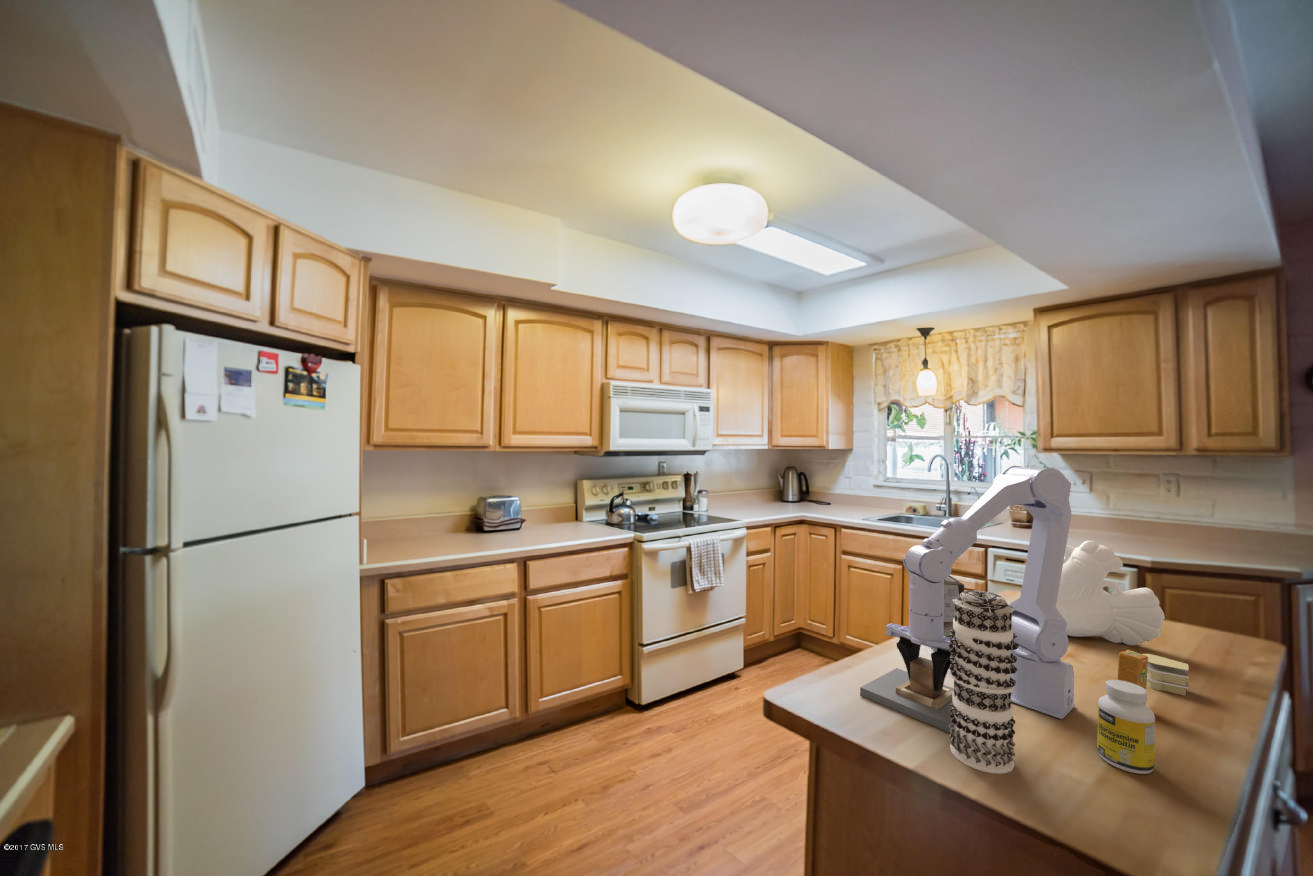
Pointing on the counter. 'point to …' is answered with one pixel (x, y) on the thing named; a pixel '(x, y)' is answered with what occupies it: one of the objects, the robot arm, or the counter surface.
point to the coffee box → (950, 602)
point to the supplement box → (1133, 668)
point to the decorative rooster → (1104, 599)
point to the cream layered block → (1167, 674)
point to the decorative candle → (982, 682)
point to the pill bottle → (1126, 728)
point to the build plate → (910, 699)
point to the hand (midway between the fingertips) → (925, 684)
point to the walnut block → (923, 678)
